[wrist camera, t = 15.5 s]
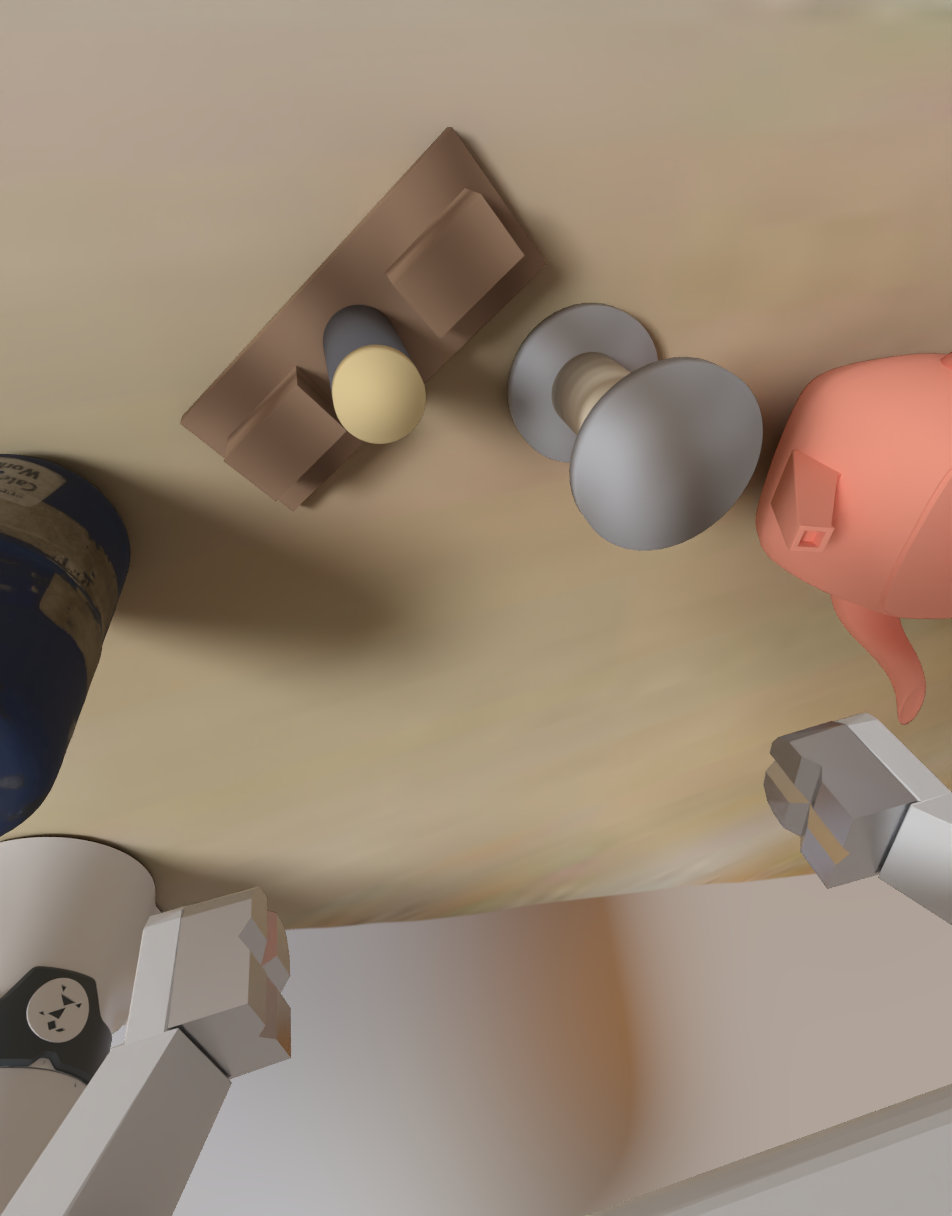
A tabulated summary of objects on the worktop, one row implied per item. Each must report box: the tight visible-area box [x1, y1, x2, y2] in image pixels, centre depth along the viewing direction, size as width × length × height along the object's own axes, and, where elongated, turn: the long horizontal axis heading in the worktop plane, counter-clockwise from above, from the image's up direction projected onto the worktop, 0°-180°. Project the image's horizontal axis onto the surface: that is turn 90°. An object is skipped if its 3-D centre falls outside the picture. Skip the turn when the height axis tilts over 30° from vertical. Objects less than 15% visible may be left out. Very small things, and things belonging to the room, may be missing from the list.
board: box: [180, 127, 547, 511], centre depth 31 cm, size 18×7×4 cm, turn 130°
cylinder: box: [323, 305, 426, 444], centre depth 29 cm, size 4×4×8 cm
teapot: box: [756, 352, 952, 725], centre depth 39 cm, size 18×18×14 cm
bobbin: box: [507, 303, 763, 550], centre depth 33 cm, size 8×8×11 cm
